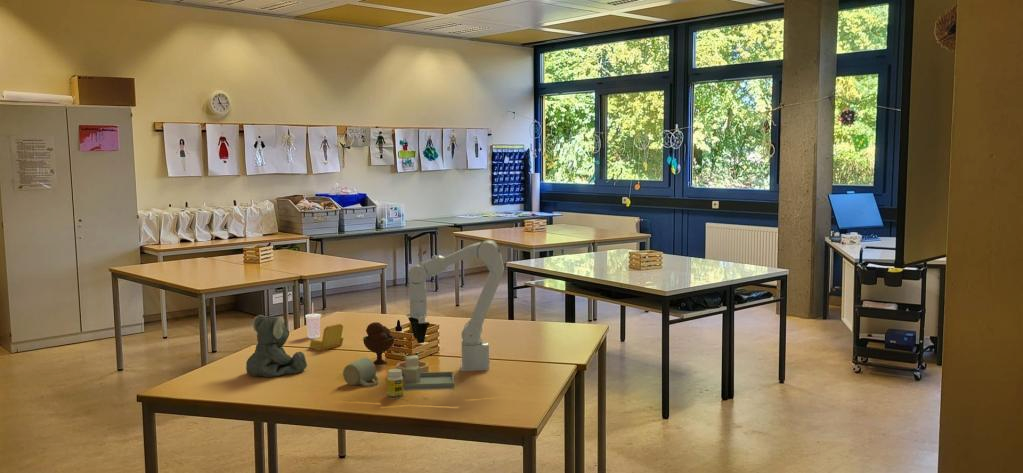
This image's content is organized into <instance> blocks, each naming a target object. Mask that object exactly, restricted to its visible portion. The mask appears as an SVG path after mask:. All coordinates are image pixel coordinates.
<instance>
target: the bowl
mask: <svg viewBox="0 0 1023 473" xmlns="http://www.w3.org/2000/svg"><path fill="white" fill-rule="evenodd" d="M429 365H430V364H429V362H427V361H425V360H424V361H423V360H419V366H420V372H430V367H429ZM395 369H401V370H402V373H404V369H405V360H404V361H400V362H398V363H396V365H395Z"/></svg>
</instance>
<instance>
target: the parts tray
mask: <svg viewBox="0 0 1023 473" xmlns="http://www.w3.org/2000/svg"><path fill="white" fill-rule="evenodd" d="M454 372H455V371H429V372H420V383H418V384H404V373H402V375H401V376H402V377H403V392H406V391H438V390H455V375H454V374H455V373H454Z"/></svg>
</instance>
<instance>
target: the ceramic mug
mask: <svg viewBox="0 0 1023 473" xmlns="http://www.w3.org/2000/svg"><path fill="white" fill-rule="evenodd" d="M373 362H374V361H373V360H372V359H370V358H368V357H361V358H360V359H357V360H355V361H353V362H351V363H349V364H347V365H346V366H344V368H343V374H342V375H343V379H344V381H345V382H346V384H347V385H350V386H359V385H361V386H364V387H373V386H376V385H378V383H379V379H378V377H377V368H376V365H374V363H373ZM373 380H374V381H375V382H371V381H373Z"/></svg>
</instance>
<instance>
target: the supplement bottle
mask: <svg viewBox="0 0 1023 473" xmlns="http://www.w3.org/2000/svg"><path fill="white" fill-rule="evenodd" d="M387 375H388V376H387V378H386V393H387V394H386V397H387V398H388V399H392V400H396V399H401V398H404V391H403V377H402V376H401V375H402V370H401V369H396V368H391V369H388V370H387Z"/></svg>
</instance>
